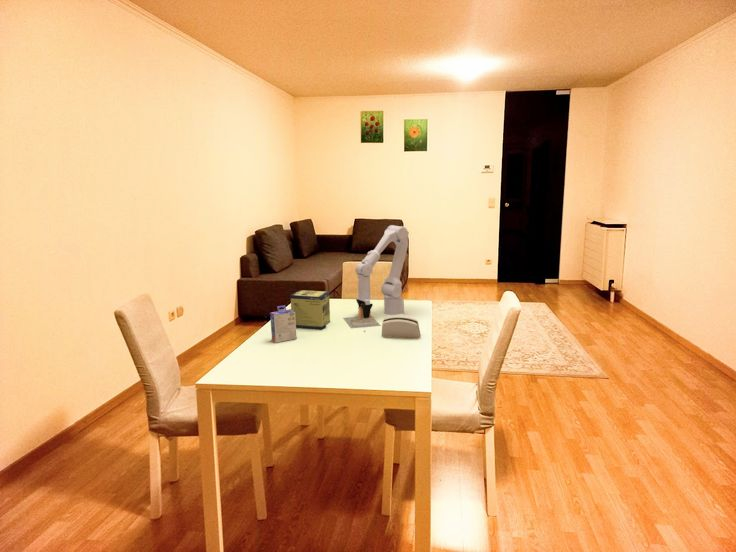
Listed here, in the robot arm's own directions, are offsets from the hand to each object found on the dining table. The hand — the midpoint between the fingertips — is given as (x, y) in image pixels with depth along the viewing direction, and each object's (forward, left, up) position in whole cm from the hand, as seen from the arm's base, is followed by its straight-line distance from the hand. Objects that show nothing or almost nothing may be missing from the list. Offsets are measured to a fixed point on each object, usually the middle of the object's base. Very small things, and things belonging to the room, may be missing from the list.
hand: (364, 315), depth 246 cm
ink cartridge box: (+40, +19, -2) cm, 44 cm away
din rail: (+3, +10, -2) cm, 11 cm away
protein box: (+26, +2, -2) cm, 26 cm away
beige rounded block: (-9, +29, -2) cm, 30 cm away
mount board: (+3, +6, -2) cm, 7 cm away
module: (0, 0, -1) cm, 1 cm away
